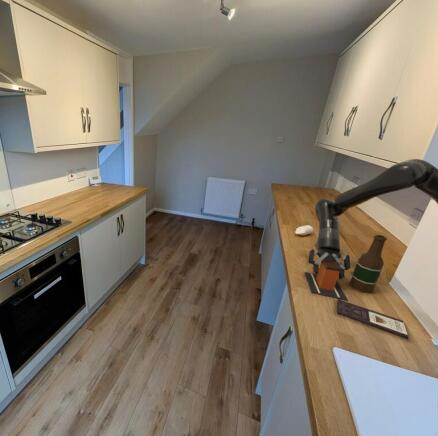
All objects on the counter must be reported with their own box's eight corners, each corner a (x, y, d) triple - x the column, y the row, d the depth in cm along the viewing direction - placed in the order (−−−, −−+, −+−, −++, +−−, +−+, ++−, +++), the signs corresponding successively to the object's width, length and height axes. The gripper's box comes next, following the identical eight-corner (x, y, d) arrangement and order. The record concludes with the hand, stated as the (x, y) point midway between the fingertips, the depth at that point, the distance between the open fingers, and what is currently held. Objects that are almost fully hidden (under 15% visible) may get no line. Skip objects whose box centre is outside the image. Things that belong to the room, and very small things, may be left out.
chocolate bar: (338, 299, 92) (402, 320, 82) (337, 301, 92) (401, 322, 82) (337, 312, 85) (408, 337, 75) (337, 314, 86) (407, 339, 76)
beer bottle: (344, 283, 103) (362, 232, 95) (359, 281, 104) (378, 231, 96) (362, 294, 96) (383, 241, 88) (378, 292, 97) (400, 239, 89)
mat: (335, 278, 106) (335, 277, 106) (347, 300, 92) (348, 299, 92) (304, 272, 110) (304, 271, 110) (311, 292, 97) (311, 291, 96)
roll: (302, 230, 144) (300, 238, 146) (314, 227, 149) (312, 235, 151) (293, 226, 149) (291, 234, 151) (304, 223, 154) (302, 231, 156)
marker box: (328, 281, 104) (335, 260, 100) (333, 291, 97) (340, 269, 94) (315, 278, 105) (322, 257, 102) (319, 288, 99) (326, 266, 95)
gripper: (312, 234, 103) (311, 270, 98) (352, 240, 98) (354, 278, 92) (307, 240, 110) (305, 274, 104) (344, 246, 105) (345, 282, 99)
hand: (328, 276), depth 98 cm, fingers open, 8 cm apart
